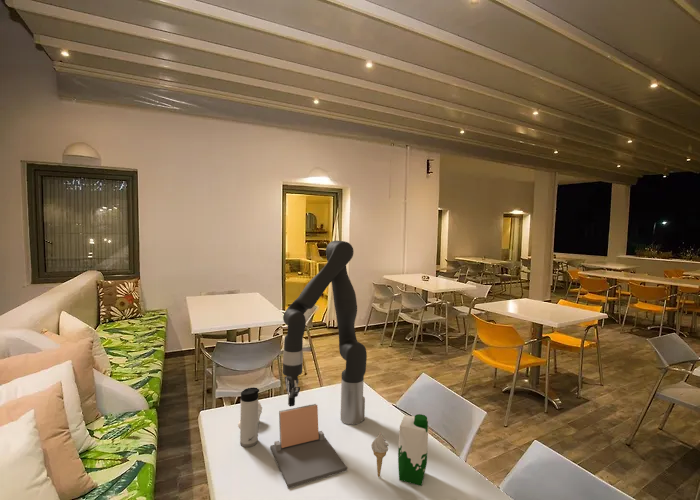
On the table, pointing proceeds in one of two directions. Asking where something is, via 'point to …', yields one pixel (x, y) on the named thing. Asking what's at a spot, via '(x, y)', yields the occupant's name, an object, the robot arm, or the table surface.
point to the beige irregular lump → (258, 413)
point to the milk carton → (413, 448)
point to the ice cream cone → (379, 450)
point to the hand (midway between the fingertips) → (291, 405)
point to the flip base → (307, 461)
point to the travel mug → (249, 417)
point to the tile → (298, 425)
